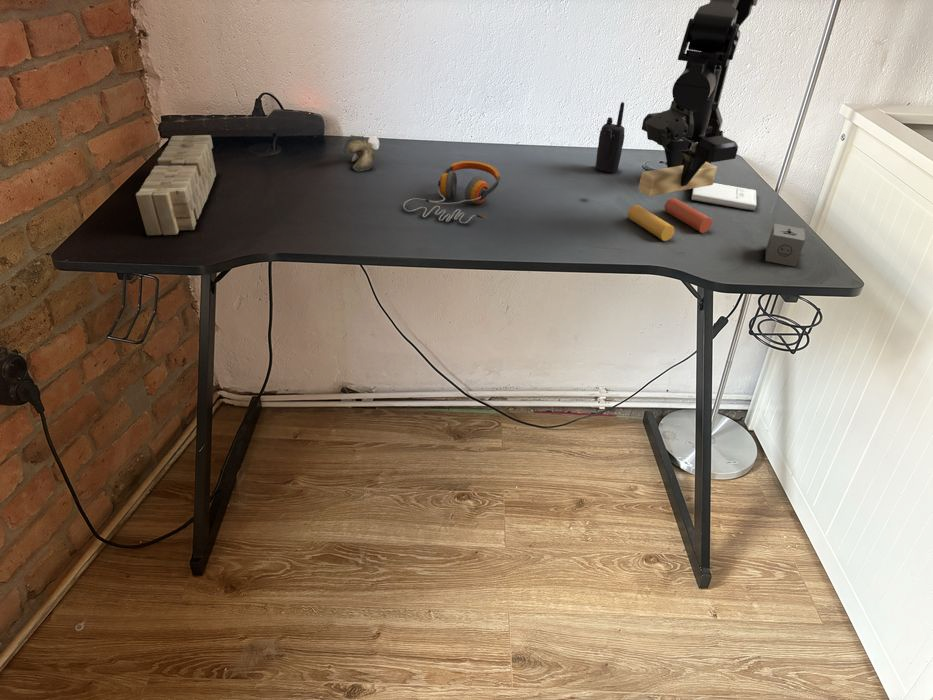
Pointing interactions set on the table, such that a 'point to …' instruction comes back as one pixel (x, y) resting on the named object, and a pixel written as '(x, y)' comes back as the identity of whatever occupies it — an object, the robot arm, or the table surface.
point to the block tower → (177, 186)
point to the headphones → (474, 189)
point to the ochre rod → (651, 222)
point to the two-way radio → (610, 144)
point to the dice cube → (785, 245)
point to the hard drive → (726, 196)
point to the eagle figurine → (361, 151)
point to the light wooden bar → (674, 179)
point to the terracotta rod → (688, 215)
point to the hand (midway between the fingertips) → (677, 182)
